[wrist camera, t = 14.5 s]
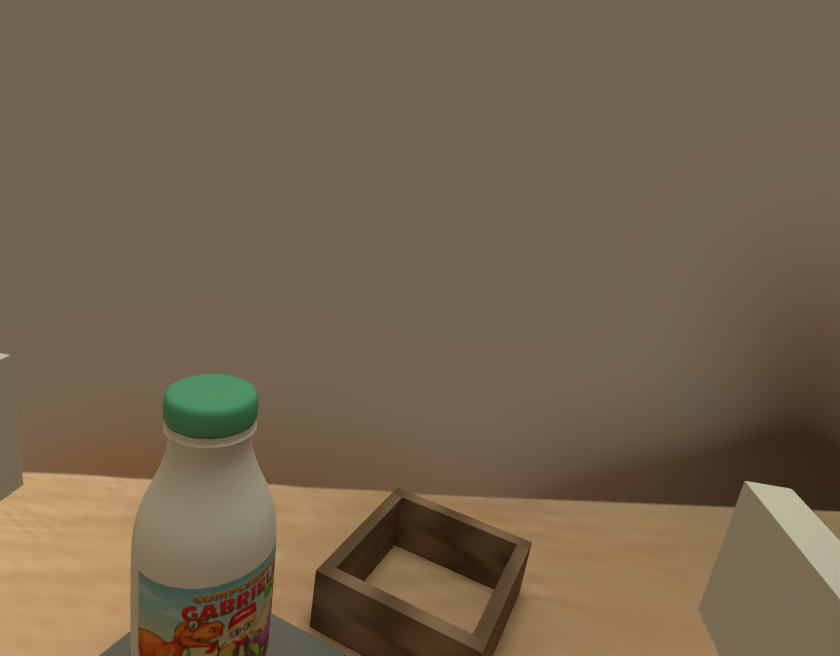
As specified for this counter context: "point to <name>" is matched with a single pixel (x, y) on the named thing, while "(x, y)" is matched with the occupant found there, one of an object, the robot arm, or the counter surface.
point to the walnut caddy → (398, 620)
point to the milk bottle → (205, 530)
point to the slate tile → (287, 647)
